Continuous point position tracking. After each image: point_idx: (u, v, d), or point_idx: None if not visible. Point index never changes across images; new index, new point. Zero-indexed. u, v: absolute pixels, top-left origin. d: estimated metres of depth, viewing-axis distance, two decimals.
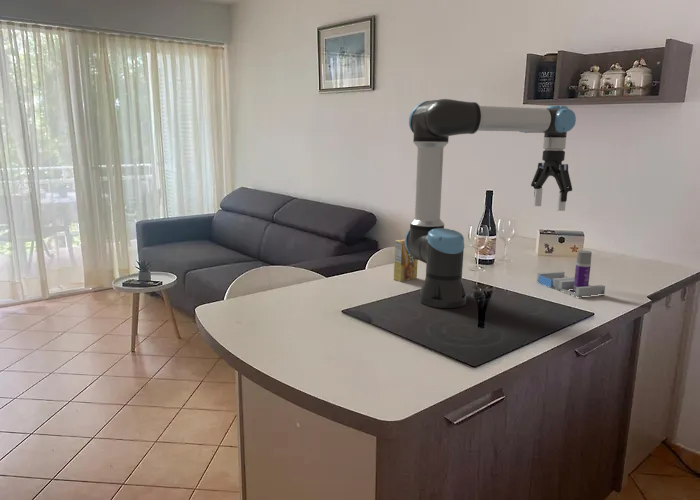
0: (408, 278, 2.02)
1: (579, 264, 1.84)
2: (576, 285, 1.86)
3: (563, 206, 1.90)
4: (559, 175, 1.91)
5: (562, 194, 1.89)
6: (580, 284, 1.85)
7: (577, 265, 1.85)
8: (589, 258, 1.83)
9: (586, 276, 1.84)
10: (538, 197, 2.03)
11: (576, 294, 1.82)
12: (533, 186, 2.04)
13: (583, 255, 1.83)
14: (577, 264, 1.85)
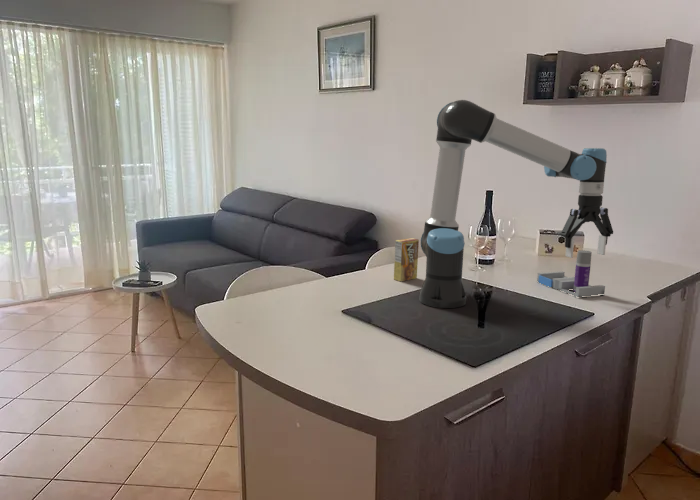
0: (408, 278, 2.02)
1: (579, 264, 1.84)
2: (576, 285, 1.86)
3: (569, 253, 1.82)
4: (578, 221, 1.81)
5: None
6: (580, 284, 1.85)
7: (577, 265, 1.85)
8: (589, 258, 1.83)
9: (586, 276, 1.84)
10: (600, 245, 1.86)
11: (576, 294, 1.82)
12: None
13: (583, 255, 1.83)
14: (577, 264, 1.85)
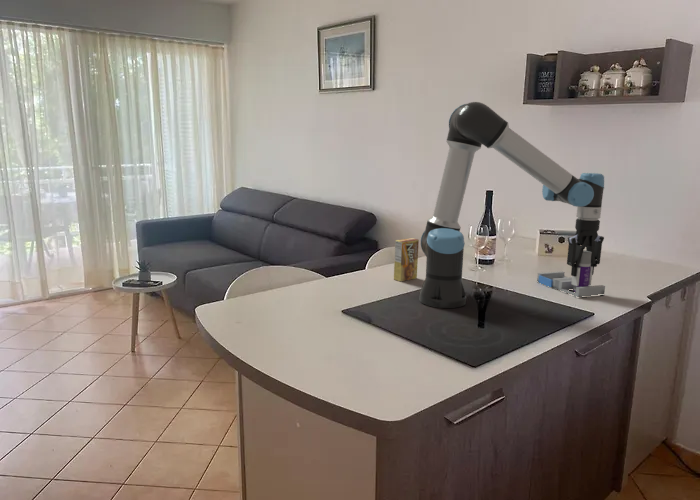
0: (408, 278, 2.02)
1: (579, 264, 1.84)
2: None
3: (575, 281, 1.86)
4: (578, 247, 1.84)
5: None
6: (580, 284, 1.85)
7: None
8: (589, 258, 1.83)
9: (586, 276, 1.84)
10: None
11: (576, 294, 1.82)
12: None
13: (583, 255, 1.83)
14: None
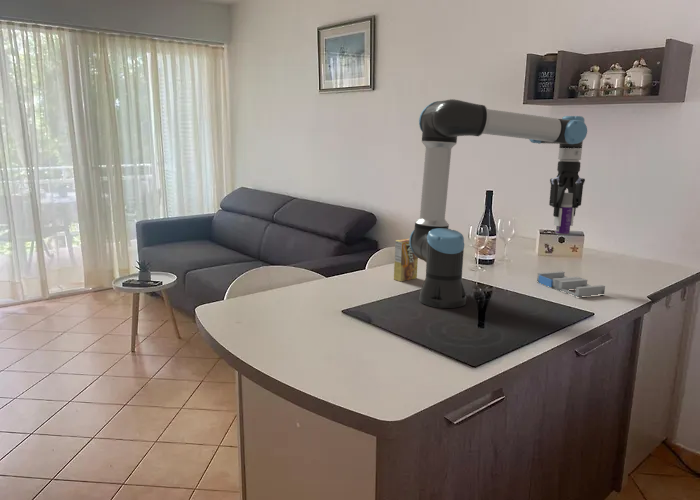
0: (408, 278, 2.02)
1: (561, 205, 1.92)
2: (558, 226, 1.94)
3: (557, 222, 1.93)
4: (560, 188, 1.91)
5: None
6: (562, 224, 1.92)
7: None
8: (570, 199, 1.91)
9: (567, 216, 1.92)
10: None
11: (576, 294, 1.82)
12: None
13: (565, 196, 1.90)
14: None
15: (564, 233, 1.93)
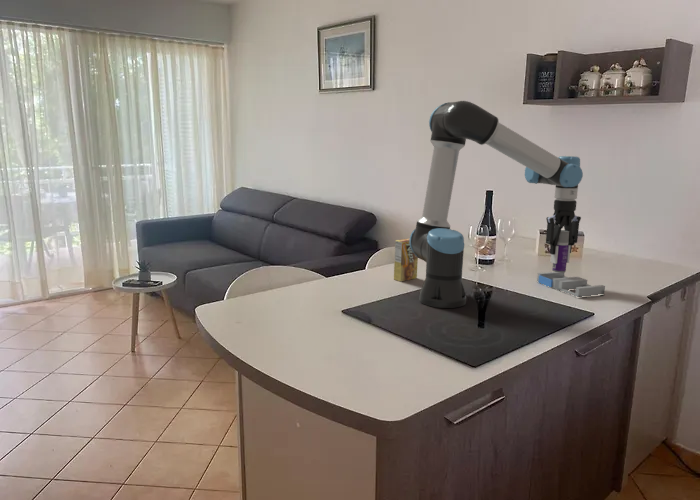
0: (408, 278, 2.02)
1: (557, 243, 1.94)
2: None
3: (554, 259, 1.96)
4: (556, 227, 1.94)
5: None
6: (558, 262, 1.95)
7: None
8: (567, 237, 1.93)
9: (564, 254, 1.94)
10: None
11: (576, 294, 1.82)
12: None
13: (561, 234, 1.93)
14: None
15: (560, 270, 1.96)
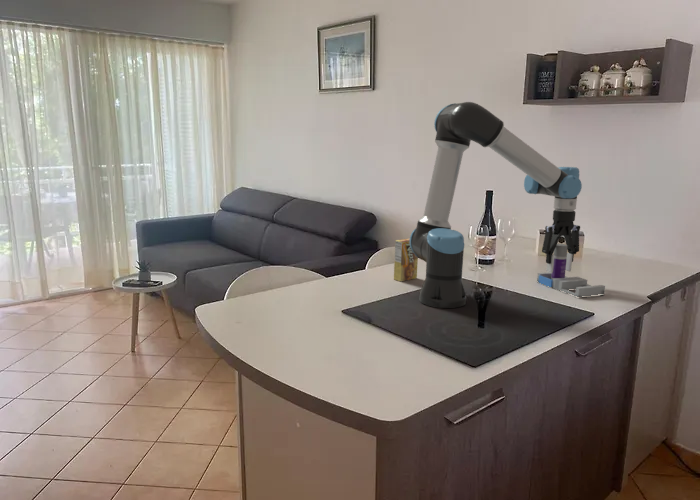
0: (408, 278, 2.02)
1: (556, 256, 1.96)
2: (553, 277, 1.97)
3: (549, 268, 1.96)
4: (554, 236, 1.94)
5: None
6: (557, 276, 1.96)
7: (554, 258, 1.96)
8: (565, 251, 1.94)
9: (562, 268, 1.95)
10: (567, 261, 1.99)
11: (576, 294, 1.82)
12: None
13: (559, 248, 1.94)
14: (554, 257, 1.97)
15: None
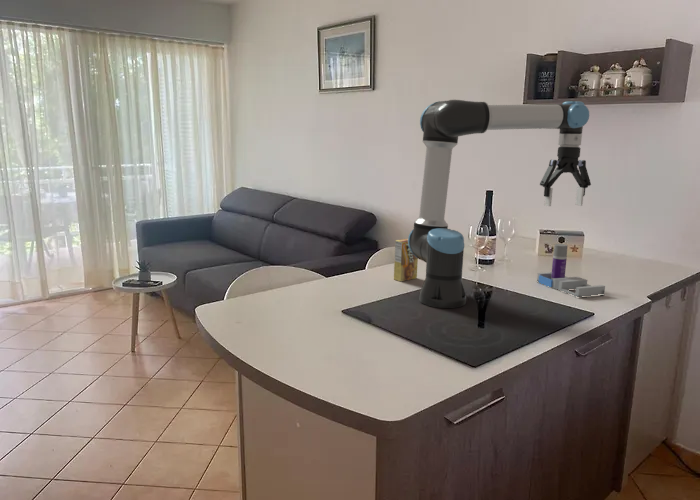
0: (408, 278, 2.02)
1: (556, 257, 1.96)
2: (553, 277, 1.97)
3: (548, 201, 1.92)
4: (557, 171, 1.91)
5: None
6: (557, 276, 1.96)
7: (554, 258, 1.96)
8: (565, 251, 1.94)
9: (562, 268, 1.95)
10: (578, 196, 1.96)
11: (576, 294, 1.82)
12: None
13: (559, 248, 1.94)
14: (553, 257, 1.97)
15: None
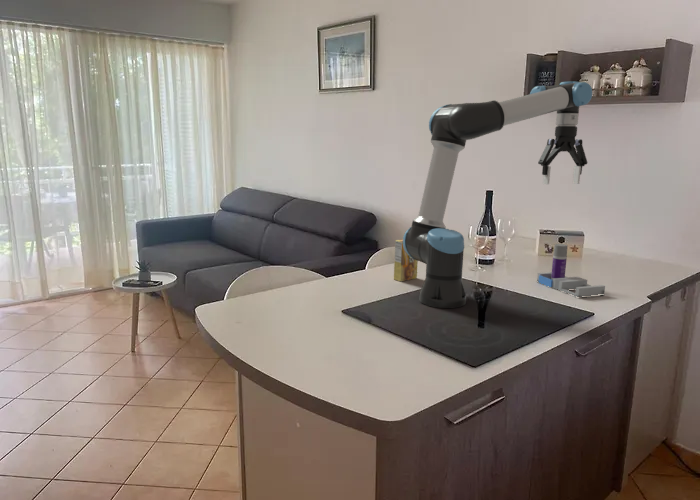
0: (408, 278, 2.02)
1: (556, 256, 1.96)
2: (553, 277, 1.97)
3: (546, 180, 1.97)
4: (554, 150, 1.96)
5: None
6: (557, 276, 1.96)
7: (554, 258, 1.96)
8: (565, 251, 1.94)
9: (562, 268, 1.95)
10: (575, 174, 2.02)
11: (576, 294, 1.82)
12: None
13: (559, 248, 1.94)
14: (553, 257, 1.97)
15: None
